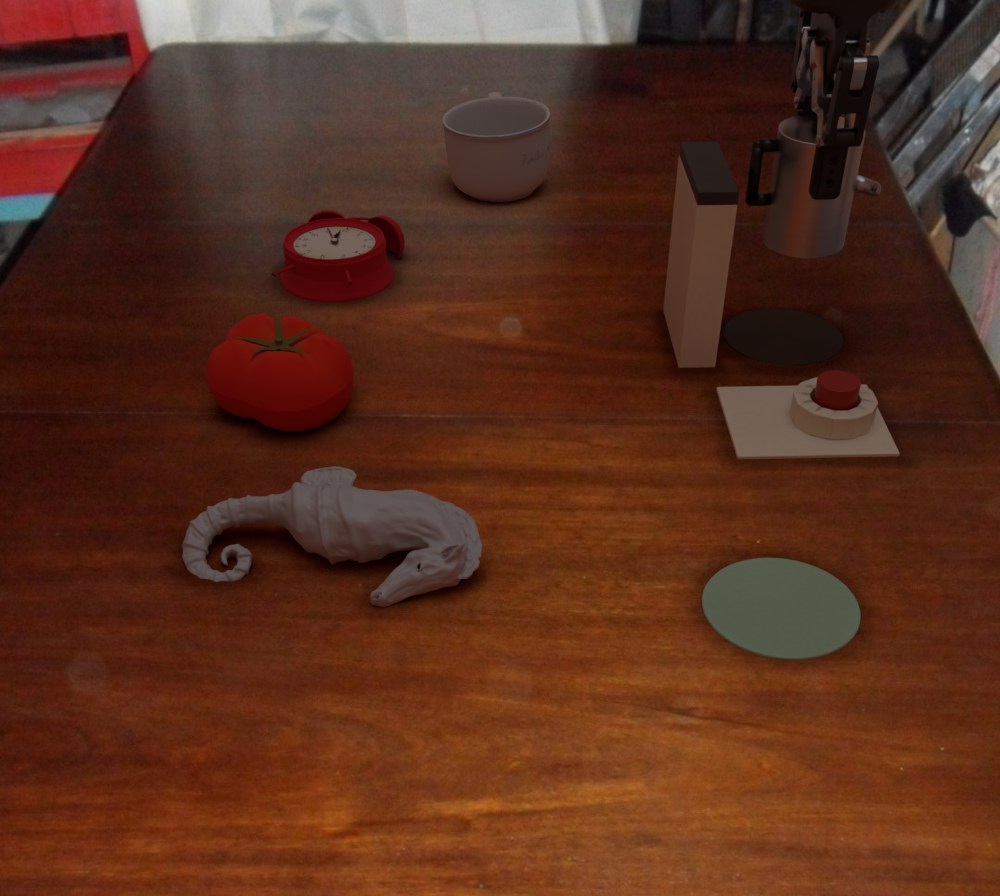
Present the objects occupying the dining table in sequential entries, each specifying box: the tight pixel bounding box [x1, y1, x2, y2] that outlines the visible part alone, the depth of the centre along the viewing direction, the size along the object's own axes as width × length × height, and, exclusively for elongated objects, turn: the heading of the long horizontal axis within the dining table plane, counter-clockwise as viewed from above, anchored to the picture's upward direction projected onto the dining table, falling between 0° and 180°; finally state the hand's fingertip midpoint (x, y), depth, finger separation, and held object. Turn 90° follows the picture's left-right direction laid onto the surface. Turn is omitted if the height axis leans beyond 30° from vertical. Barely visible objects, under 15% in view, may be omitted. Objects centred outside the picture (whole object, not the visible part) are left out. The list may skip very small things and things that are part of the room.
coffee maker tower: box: [662, 141, 740, 369], centre depth 96 cm, size 3×10×15 cm, turn 2°
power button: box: [813, 369, 862, 411], centre depth 89 cm, size 3×3×2 cm
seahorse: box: [181, 465, 484, 608], centre depth 78 cm, size 5×12×20 cm
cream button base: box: [715, 376, 901, 460], centre depth 90 cm, size 12×10×3 cm
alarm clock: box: [271, 209, 406, 304], centre depth 109 cm, size 10×6×15 cm
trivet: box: [700, 557, 862, 661], centre depth 76 cm, size 10×10×1 cm
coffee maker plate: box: [722, 307, 844, 367], centre depth 101 cm, size 10×10×1 cm
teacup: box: [441, 91, 552, 203], centre depth 122 cm, size 14×11×8 cm
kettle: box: [744, 114, 882, 260], centre depth 91 cm, size 10×6×9 cm, turn 92°
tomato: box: [205, 312, 355, 432], centre depth 92 cm, size 10×11×6 cm
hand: (813, 178), depth 91 cm, fingers closed on kettle, 6 cm apart
